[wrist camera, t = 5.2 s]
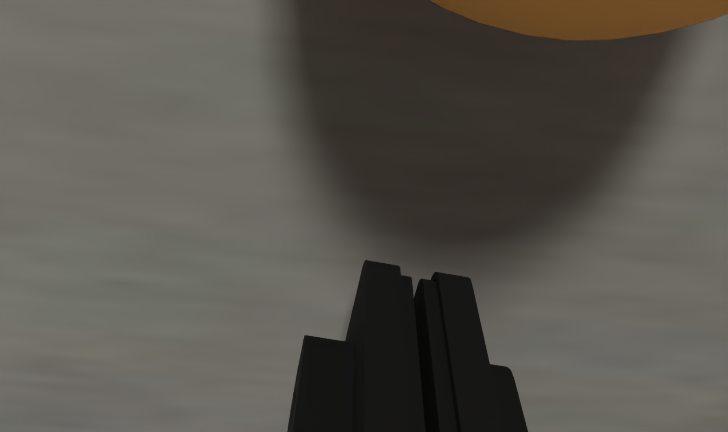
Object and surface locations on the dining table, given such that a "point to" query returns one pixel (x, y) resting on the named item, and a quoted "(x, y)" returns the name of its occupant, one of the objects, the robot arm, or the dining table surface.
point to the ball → (587, 16)
